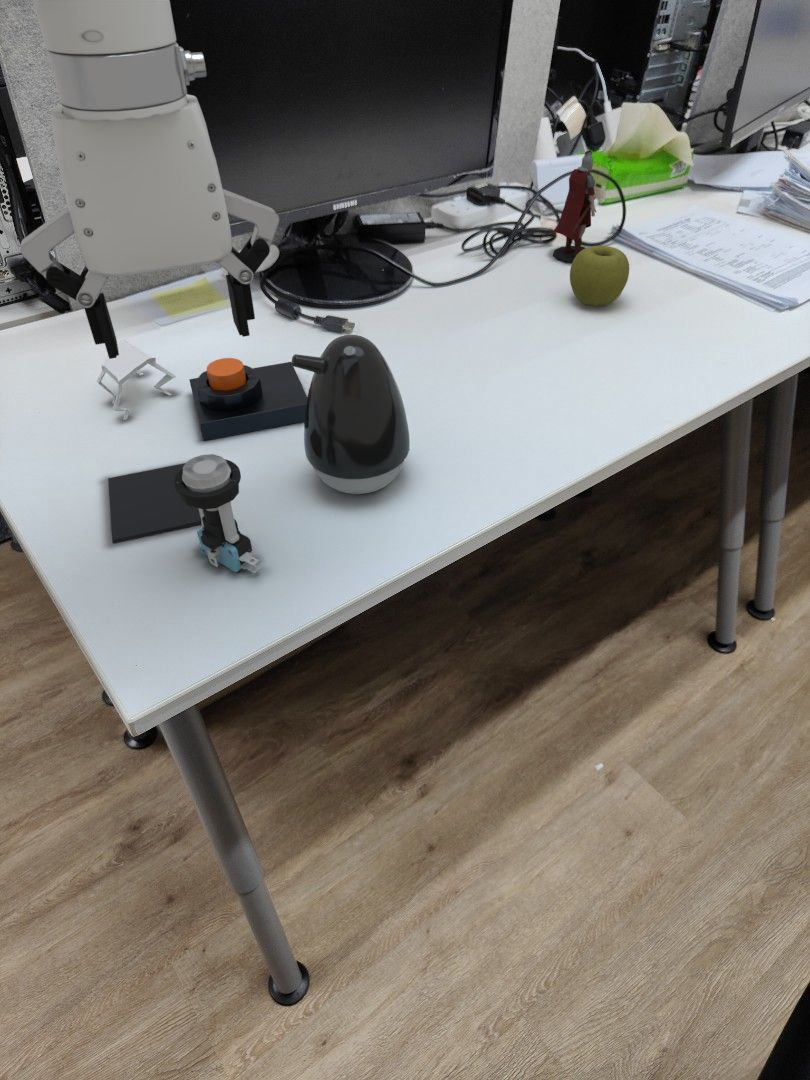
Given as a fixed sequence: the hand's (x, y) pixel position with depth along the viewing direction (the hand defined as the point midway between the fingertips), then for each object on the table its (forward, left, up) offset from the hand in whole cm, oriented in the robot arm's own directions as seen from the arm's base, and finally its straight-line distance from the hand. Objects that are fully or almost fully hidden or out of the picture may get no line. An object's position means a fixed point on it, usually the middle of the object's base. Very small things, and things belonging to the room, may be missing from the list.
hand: (178, 339), depth 58 cm
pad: (-5, +7, -20) cm, 21 cm away
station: (+6, +21, -20) cm, 29 cm away
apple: (+56, +32, -20) cm, 68 cm away
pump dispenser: (+14, +4, -20) cm, 24 cm away
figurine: (+61, +48, -20) cm, 80 cm away
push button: (0, -4, -20) cm, 20 cm away
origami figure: (-6, +29, -20) cm, 36 cm away
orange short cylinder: (+4, +21, -16) cm, 27 cm away
